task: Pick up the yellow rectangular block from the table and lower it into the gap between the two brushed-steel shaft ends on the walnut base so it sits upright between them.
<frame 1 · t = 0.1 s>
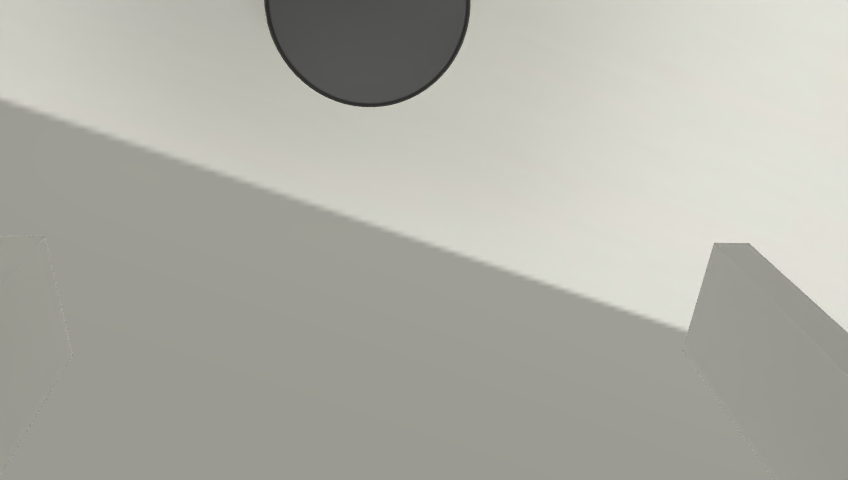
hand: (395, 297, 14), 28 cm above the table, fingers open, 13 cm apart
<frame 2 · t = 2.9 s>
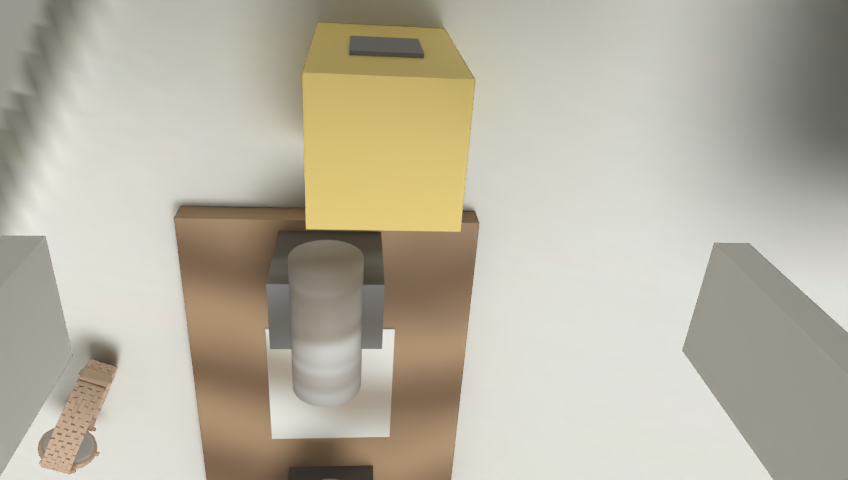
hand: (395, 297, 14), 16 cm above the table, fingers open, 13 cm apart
shaft base: (331, 369, 34), on the table
rose gold watch bracelet: (102, 376, 33), on the table
yellow rectangular block: (379, 88, 27), on the table
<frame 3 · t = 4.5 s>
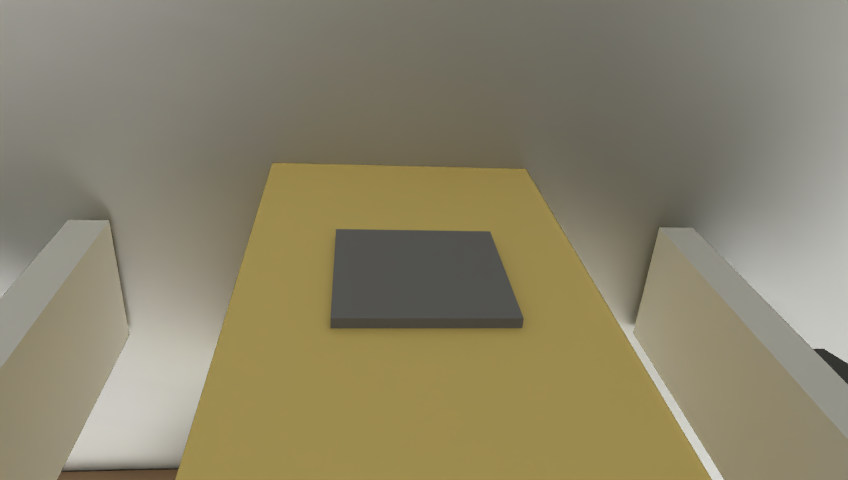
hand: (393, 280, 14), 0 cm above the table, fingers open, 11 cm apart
yellow rectangular block: (396, 274, 14), on the table
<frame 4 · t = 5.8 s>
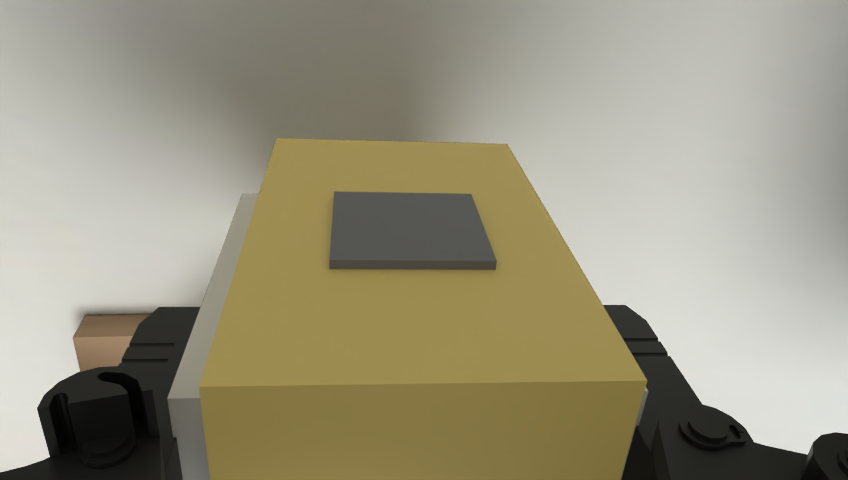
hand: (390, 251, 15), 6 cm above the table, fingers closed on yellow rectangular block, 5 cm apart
yellow rectangular block: (389, 243, 16), point 5 cm above the table, touching gripper
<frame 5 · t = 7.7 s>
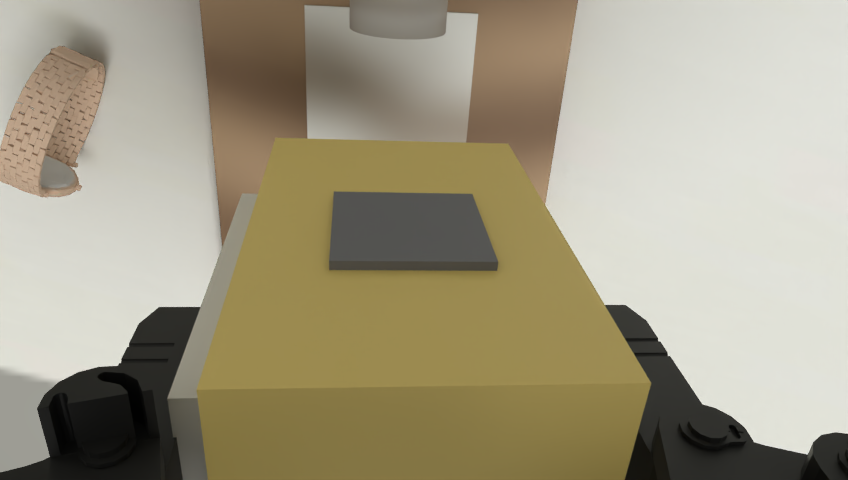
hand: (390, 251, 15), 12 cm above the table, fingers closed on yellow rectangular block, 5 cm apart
shaft base: (387, 95, 26), on the table
rose gold watch bracelet: (86, 97, 25), on the table
yellow rectangular block: (390, 243, 15), point 12 cm above the table, touching gripper
when the fingers open (2 cm above the table, at t = 9.5 s): yellow rectangular block stays where it is, resting on shaft base.
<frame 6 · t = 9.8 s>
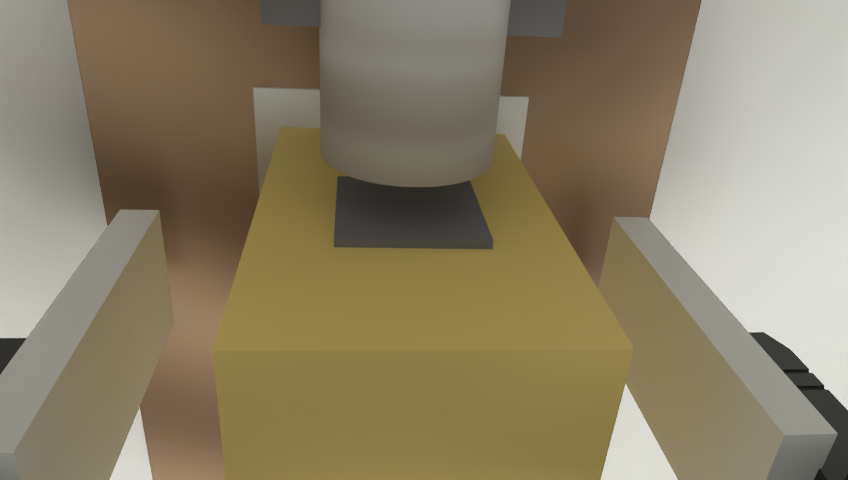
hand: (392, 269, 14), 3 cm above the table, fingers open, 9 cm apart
shaft base: (386, 209, 17), on the table
yellow rectangular block: (390, 230, 16), point 1 cm above the table, touching shaft base
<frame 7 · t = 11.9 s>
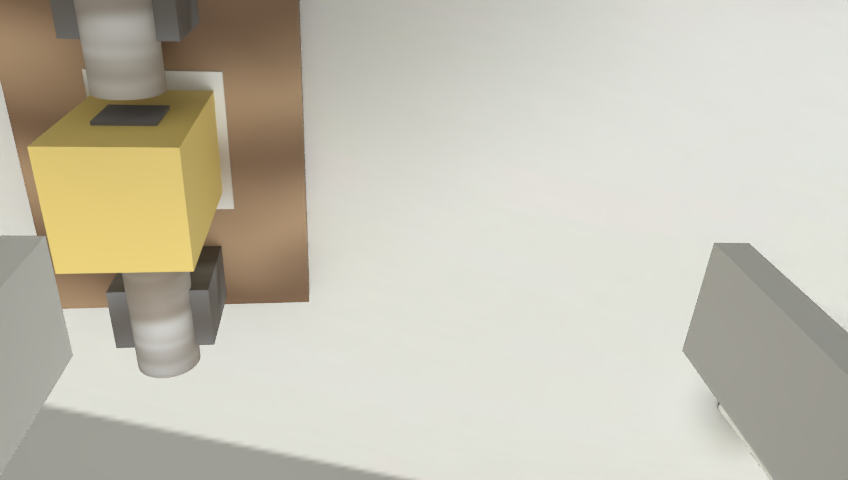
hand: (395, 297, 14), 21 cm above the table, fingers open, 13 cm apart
shaft base: (168, 135, 33), on the table
yellow rectangular block: (163, 142, 31), point 1 cm above the table, touching shaft base
jar: (777, 389, 46), on the table
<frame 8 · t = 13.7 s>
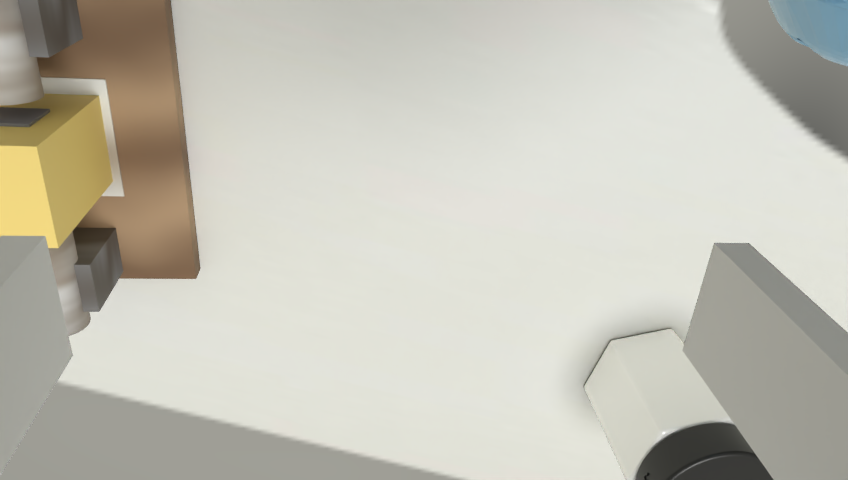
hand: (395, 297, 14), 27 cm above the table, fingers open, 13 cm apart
shaft base: (67, 131, 38), on the table
yellow rectangular block: (58, 138, 37), point 1 cm above the table, touching shaft base
jar: (640, 372, 51), on the table
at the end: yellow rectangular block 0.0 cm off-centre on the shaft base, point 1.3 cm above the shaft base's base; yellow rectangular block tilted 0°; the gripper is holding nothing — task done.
